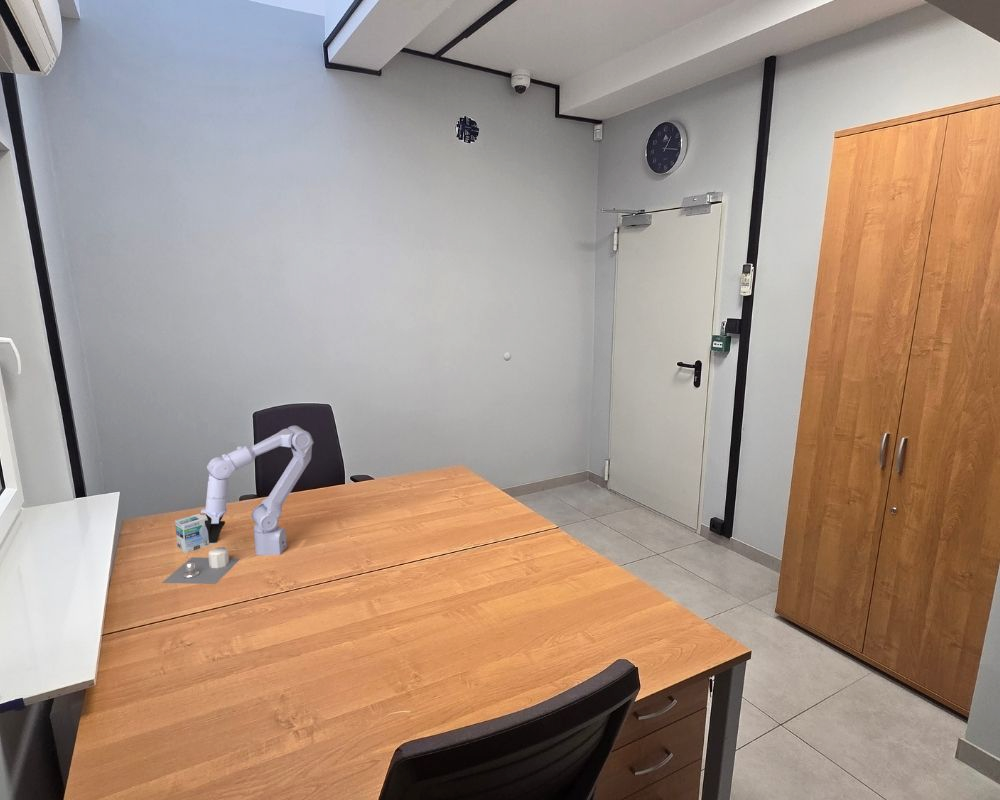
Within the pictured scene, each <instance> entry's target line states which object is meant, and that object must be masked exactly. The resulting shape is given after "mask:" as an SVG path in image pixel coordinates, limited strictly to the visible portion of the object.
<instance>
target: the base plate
mask: <svg viewBox="0 0 1000 800" xmlns="http://www.w3.org/2000/svg"><path fill="white" fill-rule="evenodd" d="M241 559H242V558H239V557H237V558H235V557H231V558H230V557H229V563H228V564H227V565H226V566H224V567H220V568H211V567H210V566H209V557H198V556H197V557H195V556H194V557H191V558H189V559H188V560H187V561H186V562H188V561H195V569H197V570H199V575H198V576H196V577H193V578H184V577H183V573H184V572H186V562H185V563H183V564H182V565H181V566H180V567H178V568H177V569H176V570H175V571H174V572H173V573H171V574H170V575H169V576H168V577H167V578H166V579H164V580H163V581H162V583H161V584H195V585H198V584H199V585H200V584H201V585H204V584H205V585H216V584H218V583H219V581H220V580H222V578H223V577H224V576H225V575H226V574H227V573H228V572H229V571H231V569H232V568H233V567H234V566H235V565H236V564H237V563H238V562H239V561H240V560H241Z"/></svg>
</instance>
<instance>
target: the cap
mask: <svg viewBox="0 0 1000 800" xmlns="http://www.w3.org/2000/svg"><path fill="white" fill-rule="evenodd" d="M208 558H209V566H210V567H211V568H220V567H224V566H226V565H227V564H228V563H229V558H230V557H229V550H228V548H227V547H224V546H219V547H215V548H212V549H210V550H209V551H208Z"/></svg>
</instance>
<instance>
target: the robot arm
mask: <svg viewBox="0 0 1000 800" xmlns="http://www.w3.org/2000/svg"><path fill="white" fill-rule="evenodd" d="M313 444H314V440H313V436H312V435H311V433H310V432H309V431H307V430H304V429H303V428H301V427H300V426H299V425H291V426H288V427H287V428H283V429H281V430H280V431H278V432H277V433H275V434H273V435H271V436H269V437H267V438H265V439H264V440H261V441H260V442H258V443H256V444H254V445H253V446H252V445H251V446H246V445H244V446H241V445H239V446H237V447H236V449H235V450H233V451H230V452H229V453H223V454H222V455H221V456H220V457H219V456H216V457H213V458H212V459H211V460H210V461H209V462H208V464H207V465H206V469H207V471H208V481H207V489H206V490H207V491H206V500H205V508H202V509H200V513H205V514H206V516H207V519H208V520H205V526H206V528H207V531H208V539H209V543H215V544H217V543H218V540H219V538H220V534H221V531H222V529H223V528H224V526H225V525H226V520H223V517H224V515H225V514H226V513H227V502H228V501H227V500H228V490H229V489H228V488H229V478H230V476H231V475H232V473H233V472H235V471H237V470H240V469H242V468H243V467H245V466H247V465H250V464H251V463H253V462H254V461H255V459H256V457H257V456H260V455H262V454H265V453H267V452H270V451H271V450H274V449H276V448H278V447H284V448H291V452H292V454H293V455H292V459H291V460H290V461H289V463H288V465H287V466H286V468H285V469H284V472H282V474H281V476H280V478H279V479H278V481H277V482H276V484H275V485H274V487H273V488H272V490H271V492H270V493H269V495H268V496H267V497H266V498H264V499H262V500H261V502H260V503H259V504H258V505H256V506H255V507H254V509H253V510H252V511H251V514H250V515H251V519H252V521H253V522H255V523H254V526H253V537H254V538H253V540H254V550H255V551H254V552H255V555H258V556H280V555H282V554H283V552H284V551H285V550H286V548H287V546H288V544H287V532H286V529H285V528H284V527H279V526H278V525H279V521H280V520H279V519H280V516H281V515H282V512H283V505H284V503H285V502H286V500H287V498H288V497H289V495H290V493H291V492H292V490H293V489H294V487H295V485H296V484H297V482H298V480H300V478H301V476H302V474H303V472H304V471H305V469H306V468H307V466H308V465H309V463H310V462H311V460H312V452H313V451H312V450H313Z"/></svg>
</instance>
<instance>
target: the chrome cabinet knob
mask: <svg viewBox="0 0 1000 800" xmlns="http://www.w3.org/2000/svg"><path fill="white" fill-rule="evenodd" d="M187 561H188V560H187ZM187 561H185V563H186V572H184V573H183V577H184V578H193V577H196V576H198V575H199V570H197V569H195V561H188V562H187Z"/></svg>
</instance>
